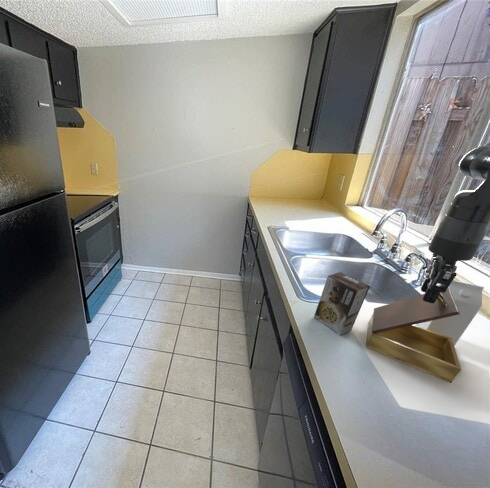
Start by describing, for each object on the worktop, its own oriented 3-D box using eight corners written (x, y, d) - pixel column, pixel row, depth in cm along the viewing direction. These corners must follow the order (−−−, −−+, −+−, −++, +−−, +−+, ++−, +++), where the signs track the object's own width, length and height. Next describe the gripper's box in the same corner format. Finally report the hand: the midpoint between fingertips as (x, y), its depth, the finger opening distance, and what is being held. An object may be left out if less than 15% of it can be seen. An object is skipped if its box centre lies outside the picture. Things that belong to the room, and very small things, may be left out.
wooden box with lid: (443, 350, 74) (451, 338, 72) (451, 383, 64) (461, 369, 62) (368, 322, 83) (374, 310, 81) (365, 346, 74) (371, 333, 72)
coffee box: (352, 329, 80) (372, 286, 73) (339, 335, 77) (358, 291, 71) (325, 312, 87) (340, 271, 81) (312, 316, 85) (327, 274, 78)
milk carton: (415, 324, 84) (444, 273, 76) (445, 332, 80) (478, 281, 73) (421, 337, 78) (453, 285, 70) (453, 347, 75) (490, 293, 67)
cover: (450, 289, 69) (436, 273, 70) (460, 314, 59) (444, 295, 60) (375, 310, 81) (364, 296, 82) (373, 333, 71) (361, 317, 72)
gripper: (490, 250, 53) (451, 316, 60) (474, 232, 63) (442, 290, 70) (439, 241, 57) (409, 303, 64) (432, 225, 68) (406, 280, 74)
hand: (426, 296), depth 67 cm, fingers closed on cover, 5 cm apart
